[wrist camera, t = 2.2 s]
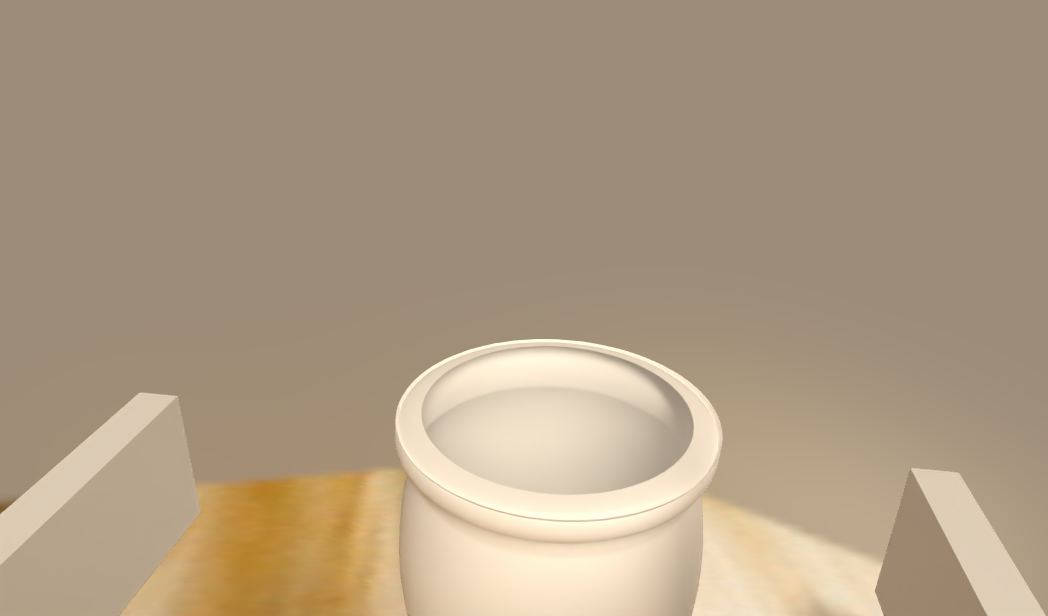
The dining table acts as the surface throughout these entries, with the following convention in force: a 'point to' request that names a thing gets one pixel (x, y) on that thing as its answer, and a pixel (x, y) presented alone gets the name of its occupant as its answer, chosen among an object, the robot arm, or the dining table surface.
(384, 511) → the dining table surface
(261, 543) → the dining table surface
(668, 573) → the jar
